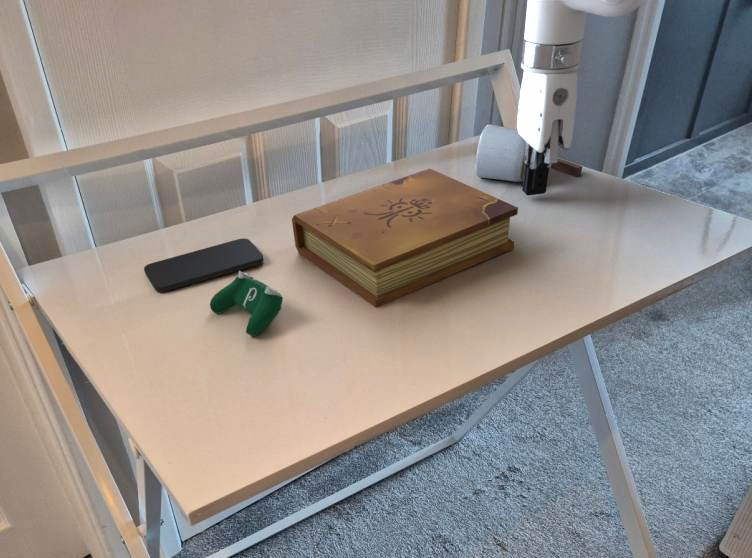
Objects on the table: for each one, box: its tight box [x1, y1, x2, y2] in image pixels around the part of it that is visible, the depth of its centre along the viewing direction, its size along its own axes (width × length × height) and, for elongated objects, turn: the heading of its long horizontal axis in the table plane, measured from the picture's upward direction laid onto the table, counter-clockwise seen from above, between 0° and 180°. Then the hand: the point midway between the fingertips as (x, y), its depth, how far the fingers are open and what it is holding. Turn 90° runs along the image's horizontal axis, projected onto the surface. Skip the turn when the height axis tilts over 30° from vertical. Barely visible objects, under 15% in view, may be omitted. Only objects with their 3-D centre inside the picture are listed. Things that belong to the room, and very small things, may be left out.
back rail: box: [549, 157, 583, 178], centre depth 112 cm, size 14×1×2 cm, turn 38°
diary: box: [291, 168, 519, 308], centre depth 90 cm, size 23×19×6 cm
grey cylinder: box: [475, 123, 527, 183], centre depth 107 cm, size 11×8×8 cm
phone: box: [143, 238, 265, 293], centre depth 91 cm, size 7×1×15 cm
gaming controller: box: [209, 270, 284, 338], centre depth 81 cm, size 9×4×6 cm
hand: (533, 192), depth 102 cm, fingers closed
